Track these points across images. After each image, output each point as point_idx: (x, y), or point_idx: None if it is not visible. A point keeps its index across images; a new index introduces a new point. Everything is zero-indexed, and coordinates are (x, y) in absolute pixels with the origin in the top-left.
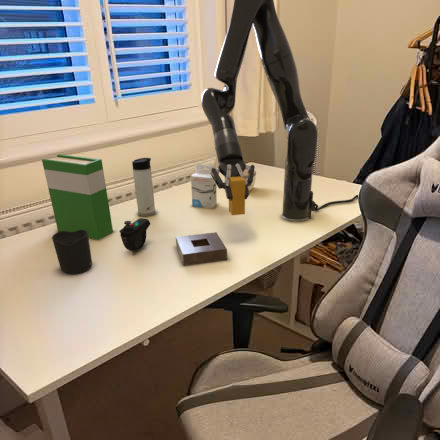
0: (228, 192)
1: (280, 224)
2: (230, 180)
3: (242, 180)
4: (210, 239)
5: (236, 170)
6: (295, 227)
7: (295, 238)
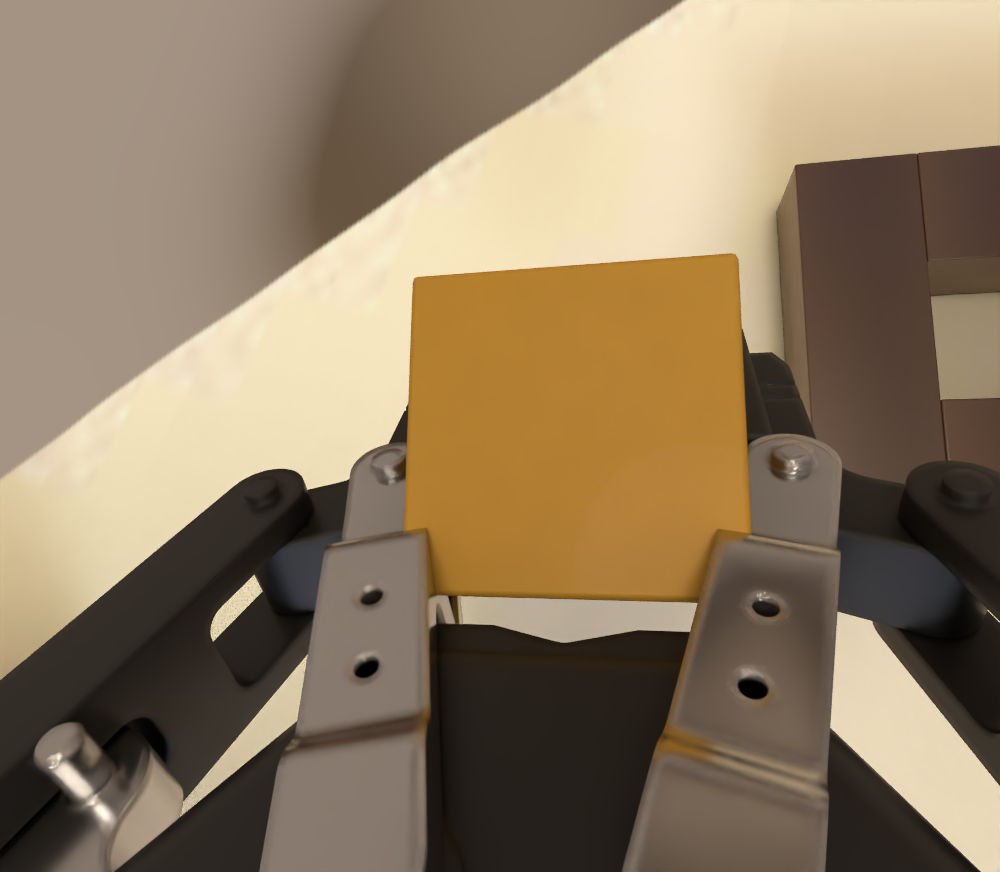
0: (766, 397)
1: None
2: (741, 408)
3: (477, 273)
4: (905, 373)
5: (456, 768)
6: None
7: (220, 430)
